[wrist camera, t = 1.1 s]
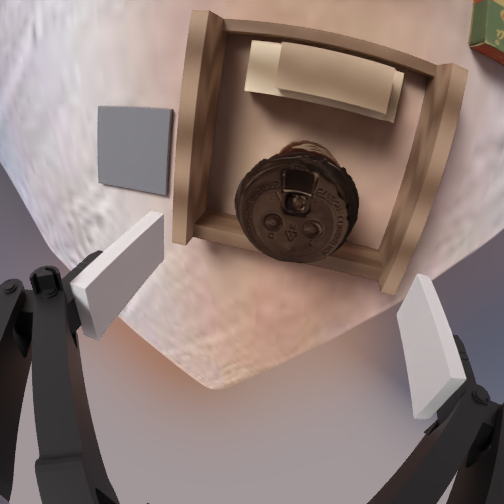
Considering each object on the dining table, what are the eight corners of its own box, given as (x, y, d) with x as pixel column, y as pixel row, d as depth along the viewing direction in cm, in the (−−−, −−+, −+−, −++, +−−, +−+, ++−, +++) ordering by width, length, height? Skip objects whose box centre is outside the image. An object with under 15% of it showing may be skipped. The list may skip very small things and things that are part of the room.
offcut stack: (256, 42, 25) (241, 33, 20) (399, 74, 24) (415, 71, 19) (249, 89, 28) (233, 90, 23) (389, 120, 26) (403, 128, 21)
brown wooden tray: (215, 22, 25) (192, 10, 20) (443, 71, 22) (468, 70, 17) (193, 218, 36) (172, 242, 31) (385, 264, 34) (394, 295, 29)
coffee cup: (309, 110, 28) (300, 124, 17) (365, 172, 29) (388, 226, 18) (248, 167, 32) (205, 215, 21) (302, 222, 34) (289, 295, 23)
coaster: (101, 105, 31) (98, 106, 31) (172, 109, 30) (170, 109, 30) (101, 181, 37) (98, 183, 36) (167, 193, 35) (165, 195, 35)
